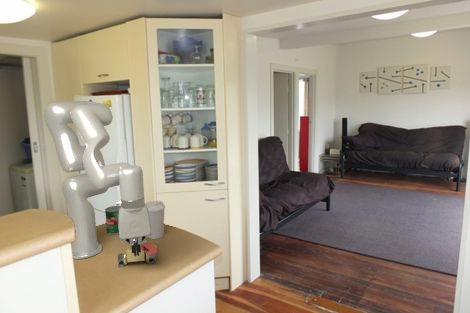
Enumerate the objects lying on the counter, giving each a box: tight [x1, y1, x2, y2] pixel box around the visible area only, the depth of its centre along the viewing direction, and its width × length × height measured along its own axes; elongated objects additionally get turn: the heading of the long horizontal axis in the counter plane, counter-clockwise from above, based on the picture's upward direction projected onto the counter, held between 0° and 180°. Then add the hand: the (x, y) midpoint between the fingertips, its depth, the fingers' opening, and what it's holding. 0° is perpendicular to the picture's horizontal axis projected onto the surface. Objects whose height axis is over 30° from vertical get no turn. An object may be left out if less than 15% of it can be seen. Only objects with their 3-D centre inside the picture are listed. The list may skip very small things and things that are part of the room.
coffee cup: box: [145, 200, 166, 240], centre depth 149 cm, size 10×10×15 cm
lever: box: [133, 237, 158, 255], centre depth 119 cm, size 4×15×2 cm, turn 42°
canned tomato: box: [104, 205, 121, 235], centre depth 156 cm, size 8×8×11 cm
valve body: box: [117, 243, 157, 268], centre depth 124 cm, size 13×6×8 cm, turn 99°
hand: (136, 254), depth 115 cm, fingers closed
